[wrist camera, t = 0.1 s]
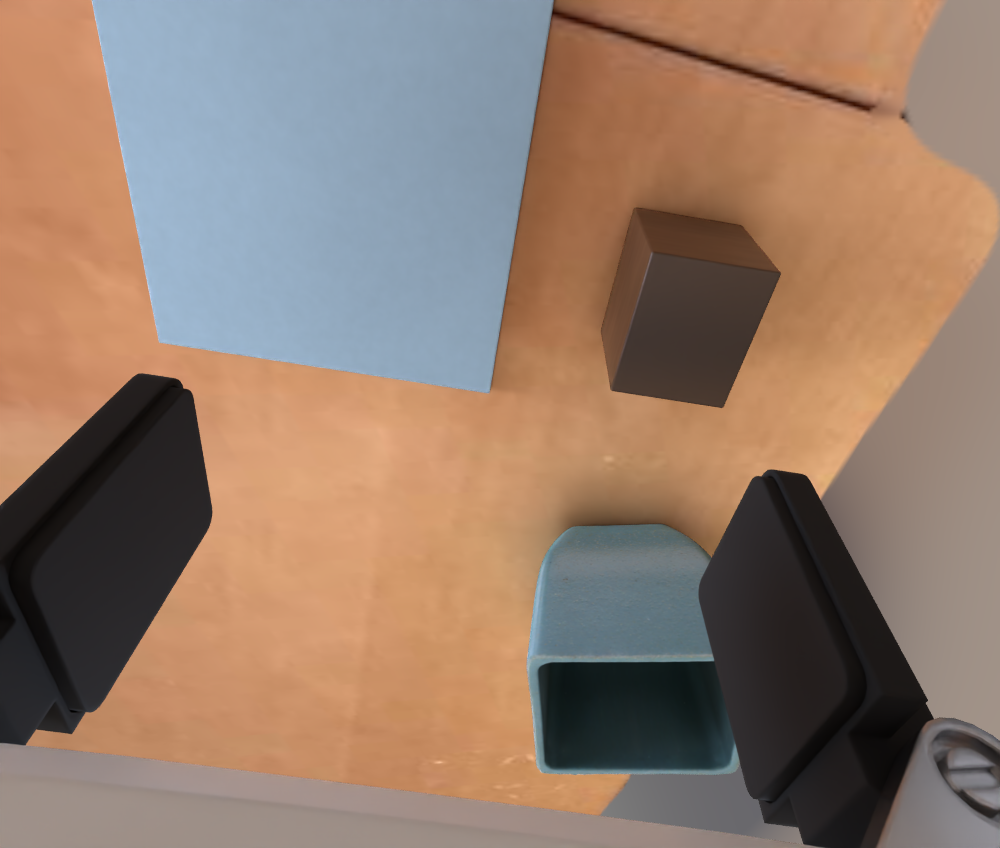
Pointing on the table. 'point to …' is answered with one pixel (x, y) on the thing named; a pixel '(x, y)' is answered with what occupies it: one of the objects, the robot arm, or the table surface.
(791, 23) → the table surface
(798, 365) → the table surface
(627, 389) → the walnut block
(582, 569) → the flower pot
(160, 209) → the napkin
